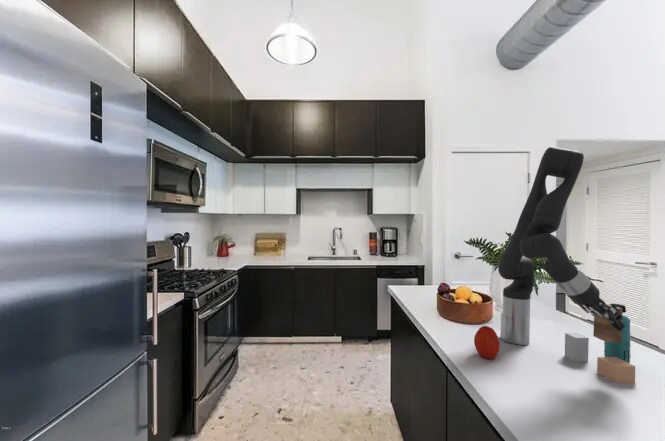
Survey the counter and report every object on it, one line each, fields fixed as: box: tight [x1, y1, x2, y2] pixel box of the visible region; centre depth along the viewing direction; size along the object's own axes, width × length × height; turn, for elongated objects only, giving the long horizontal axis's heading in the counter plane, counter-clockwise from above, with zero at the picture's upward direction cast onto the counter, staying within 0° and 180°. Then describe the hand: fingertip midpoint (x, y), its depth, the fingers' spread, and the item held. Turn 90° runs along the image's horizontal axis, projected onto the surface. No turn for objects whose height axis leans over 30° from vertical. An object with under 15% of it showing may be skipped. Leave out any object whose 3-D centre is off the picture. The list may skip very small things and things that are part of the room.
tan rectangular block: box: [592, 303, 624, 343], centre depth 94 cm, size 4×4×10 cm
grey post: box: [564, 332, 590, 363], centre depth 107 cm, size 4×4×8 cm
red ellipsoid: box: [473, 325, 501, 360], centre depth 107 cm, size 8×8×11 cm
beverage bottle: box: [603, 303, 632, 364], centre depth 102 cm, size 6×7×20 cm
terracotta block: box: [596, 356, 636, 384], centre depth 94 cm, size 6×6×5 cm
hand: (613, 325), depth 94 cm, fingers closed on tan rectangular block, 4 cm apart
